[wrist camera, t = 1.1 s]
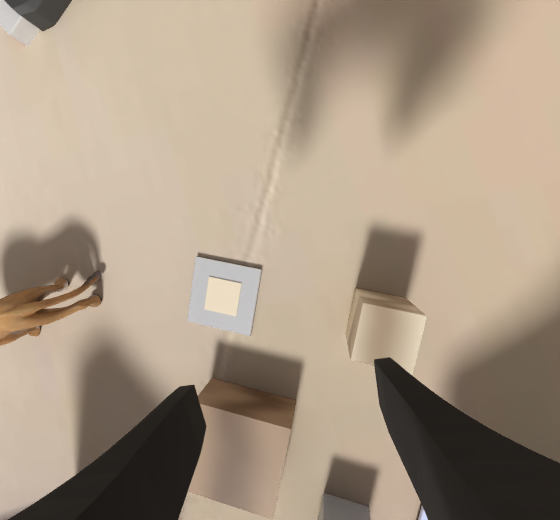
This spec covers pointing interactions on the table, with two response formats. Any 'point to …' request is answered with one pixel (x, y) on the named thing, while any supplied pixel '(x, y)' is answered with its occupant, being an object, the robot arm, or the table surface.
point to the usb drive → (30, 17)
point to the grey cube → (342, 509)
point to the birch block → (384, 329)
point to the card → (224, 295)
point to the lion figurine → (39, 308)
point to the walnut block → (242, 446)
